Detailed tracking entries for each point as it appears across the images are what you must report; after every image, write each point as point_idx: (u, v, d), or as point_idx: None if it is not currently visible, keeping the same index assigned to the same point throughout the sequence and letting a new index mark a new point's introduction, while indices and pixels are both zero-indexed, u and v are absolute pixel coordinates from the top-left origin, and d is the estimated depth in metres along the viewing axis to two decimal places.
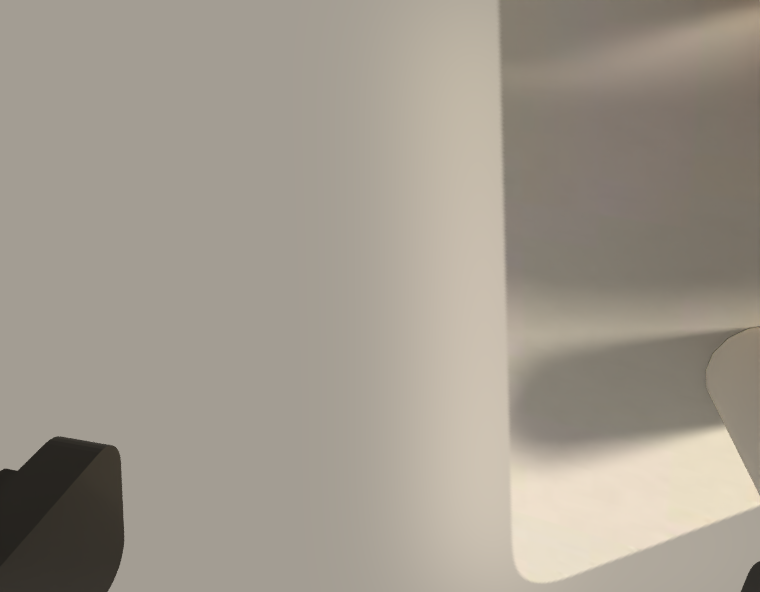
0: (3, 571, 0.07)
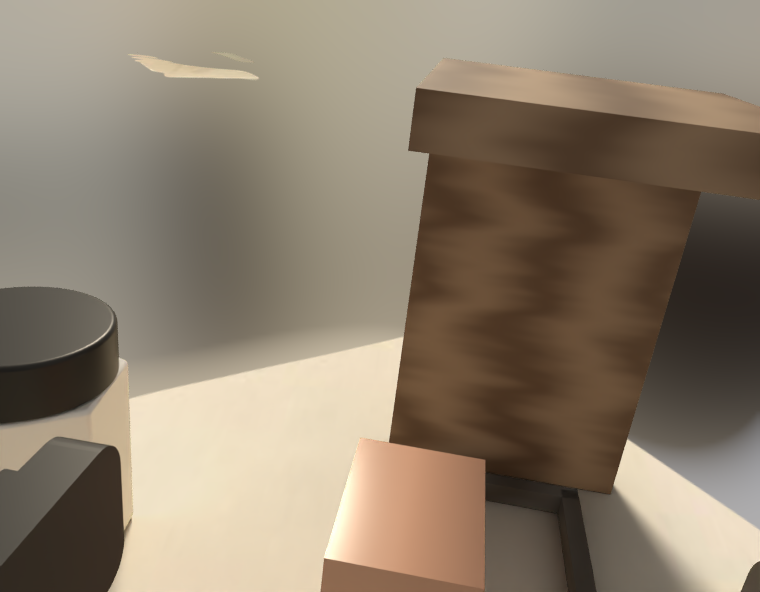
0: (3, 571, 0.07)
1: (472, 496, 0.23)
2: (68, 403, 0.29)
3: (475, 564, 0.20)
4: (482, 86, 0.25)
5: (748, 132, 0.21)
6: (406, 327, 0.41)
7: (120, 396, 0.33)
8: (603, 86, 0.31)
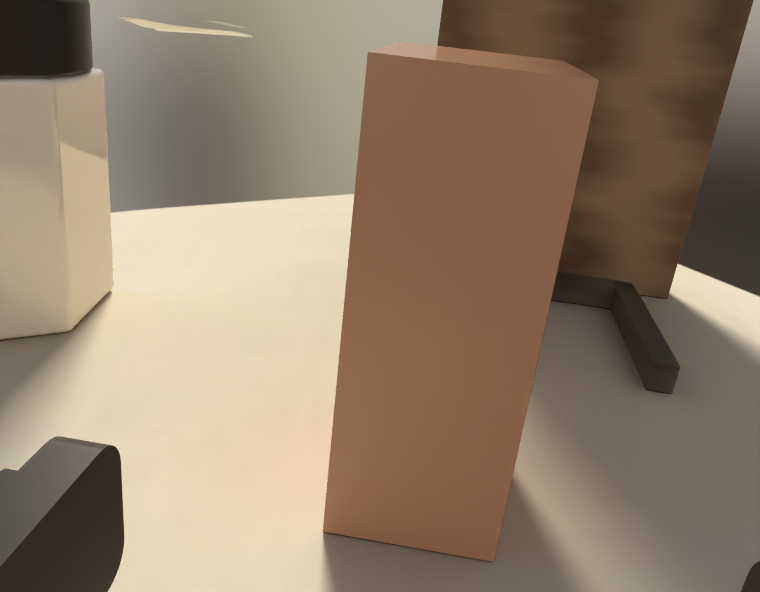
0: (3, 571, 0.07)
1: (556, 64, 0.17)
2: (25, 64, 0.23)
3: (579, 74, 0.14)
4: None
5: None
6: None
7: (94, 106, 0.27)
8: None
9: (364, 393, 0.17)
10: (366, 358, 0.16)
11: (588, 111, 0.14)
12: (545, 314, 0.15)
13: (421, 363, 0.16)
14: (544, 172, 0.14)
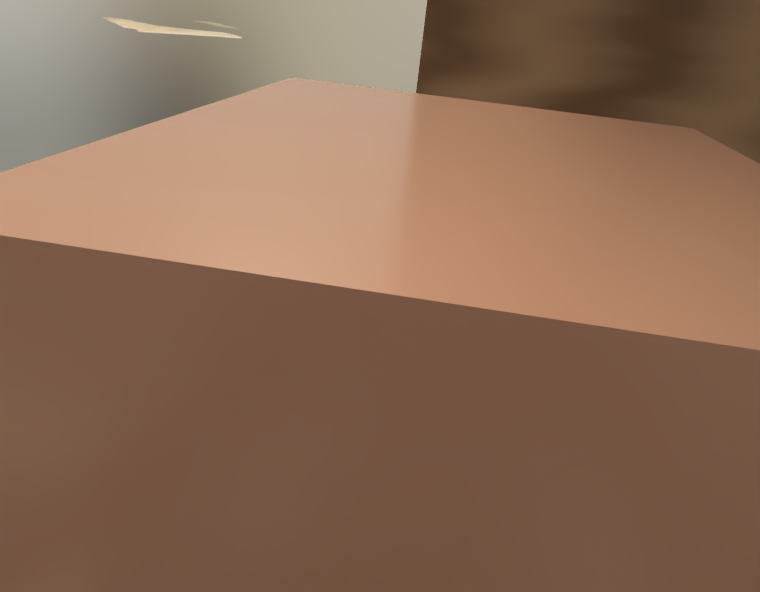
0: None
1: (714, 160, 0.06)
2: None
3: None
4: None
5: None
6: None
7: None
8: None
9: None
10: None
11: None
12: None
13: None
14: None
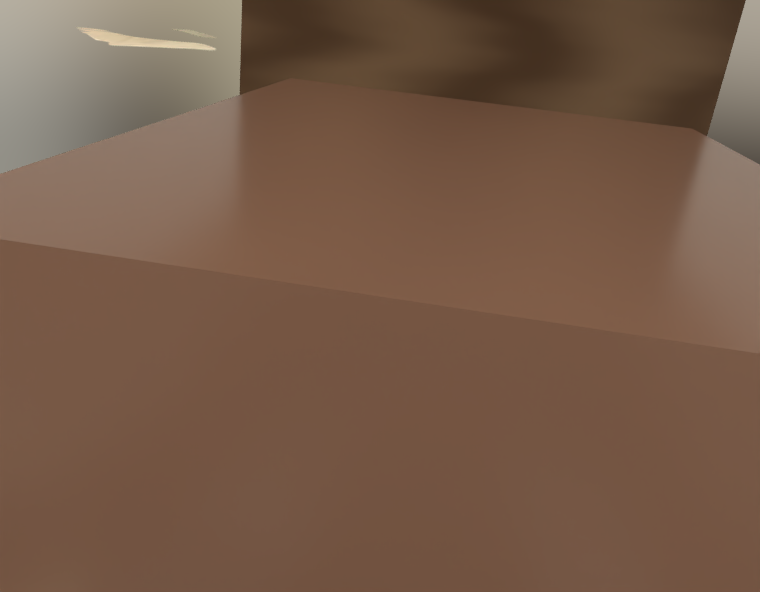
0: None
1: (713, 161, 0.06)
2: None
3: None
4: None
5: None
6: None
7: None
8: None
9: None
10: None
11: None
12: None
13: None
14: None
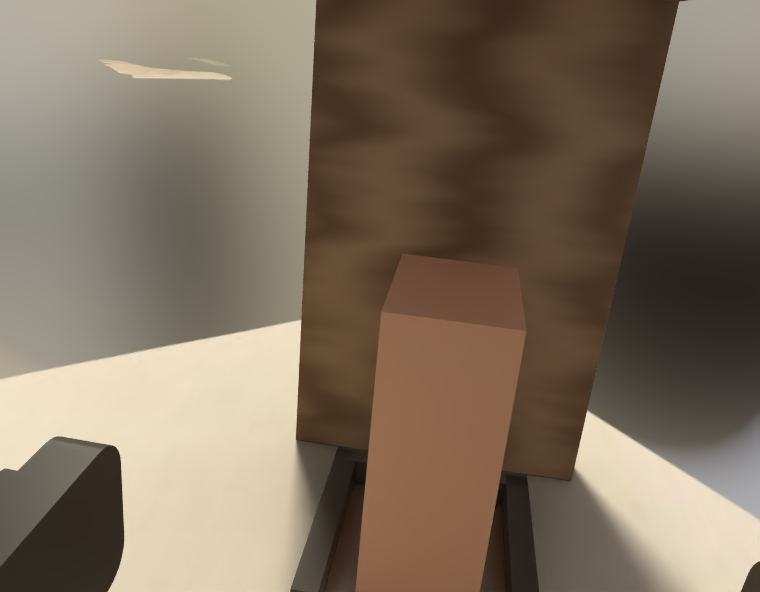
0: (3, 572, 0.07)
1: (509, 285, 0.25)
2: None
3: (516, 318, 0.22)
4: None
5: None
6: (305, 275, 0.33)
7: None
8: None
9: (382, 513, 0.25)
10: (383, 491, 0.24)
11: (521, 348, 0.22)
12: (500, 466, 0.23)
13: (420, 495, 0.24)
14: (495, 382, 0.22)
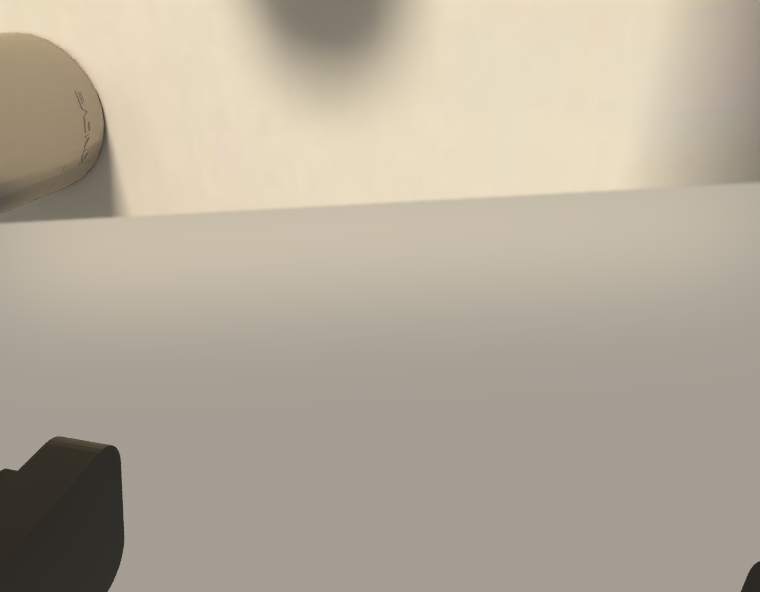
0: (3, 571, 0.07)
1: None
2: None
3: None
4: None
5: None
6: None
7: None
8: None
9: None
10: None
11: None
12: None
13: None
14: None
